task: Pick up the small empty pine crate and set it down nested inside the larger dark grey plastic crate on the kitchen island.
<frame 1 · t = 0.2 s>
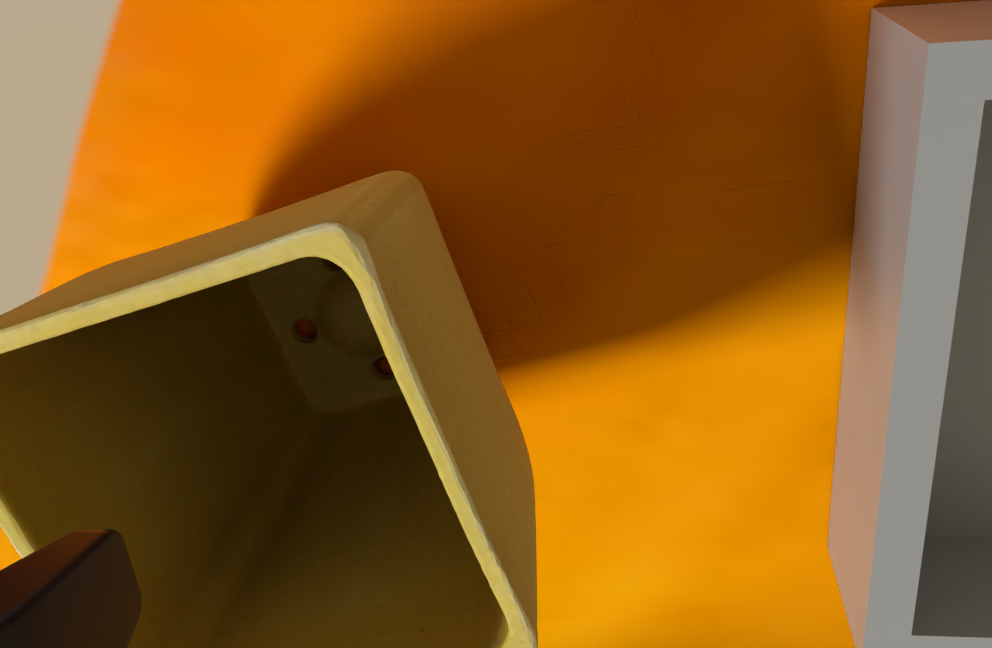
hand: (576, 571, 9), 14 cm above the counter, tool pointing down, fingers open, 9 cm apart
flower pot: (362, 301, 24), on the counter
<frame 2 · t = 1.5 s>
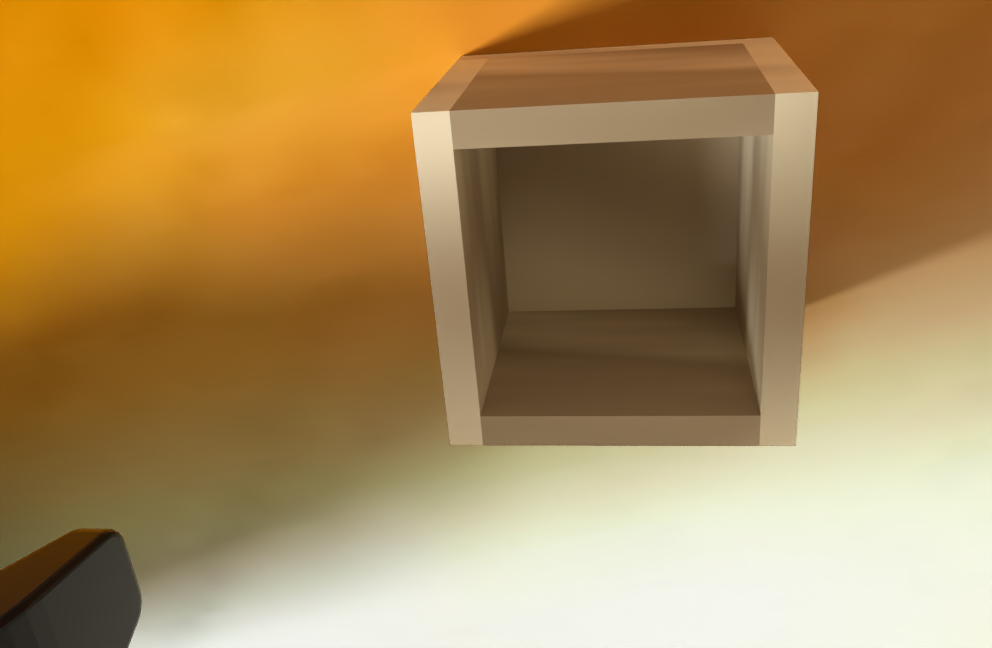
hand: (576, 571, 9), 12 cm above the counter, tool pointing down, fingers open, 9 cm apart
small crate: (617, 193, 20), on the counter
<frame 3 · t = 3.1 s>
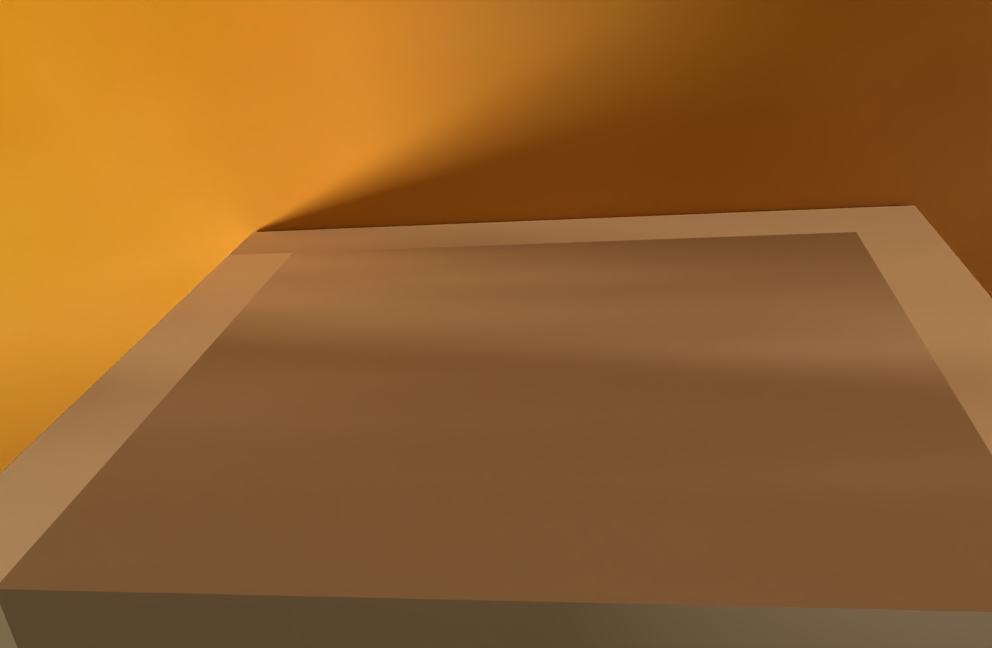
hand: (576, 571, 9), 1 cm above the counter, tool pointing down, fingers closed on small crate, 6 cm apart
small crate: (582, 492, 10), on the counter, touching gripper
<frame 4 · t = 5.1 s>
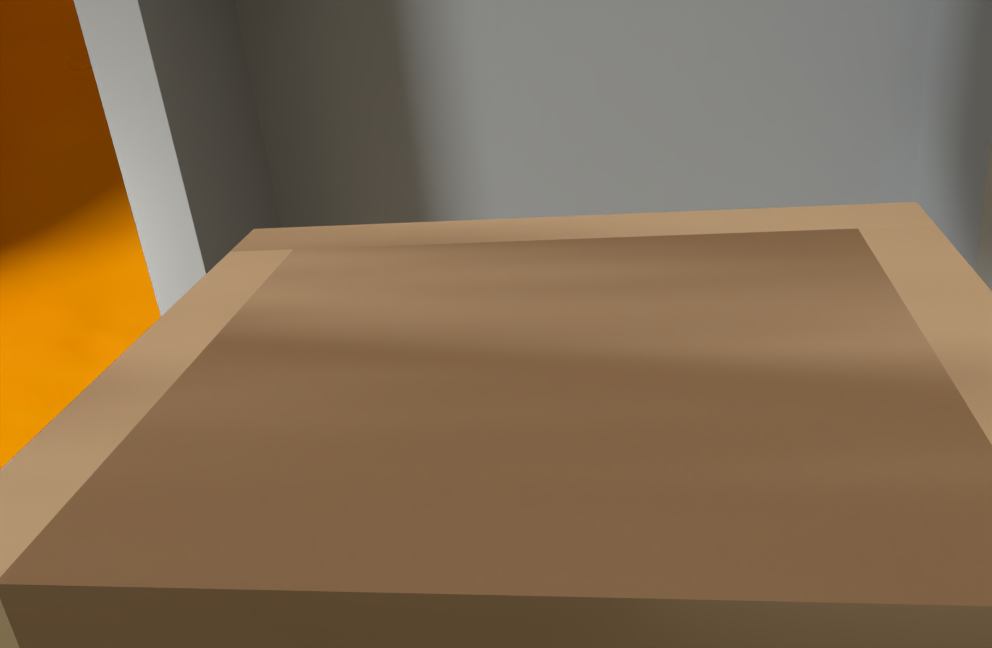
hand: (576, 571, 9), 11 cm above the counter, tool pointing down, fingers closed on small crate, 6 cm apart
big crate: (581, 179, 19), on the counter
small crate: (583, 489, 10), point 10 cm above the counter, touching gripper
when the fingers open (3 cm above the counter, at t = 7.0 s): small crate drops 1 cm, resting on big crate.
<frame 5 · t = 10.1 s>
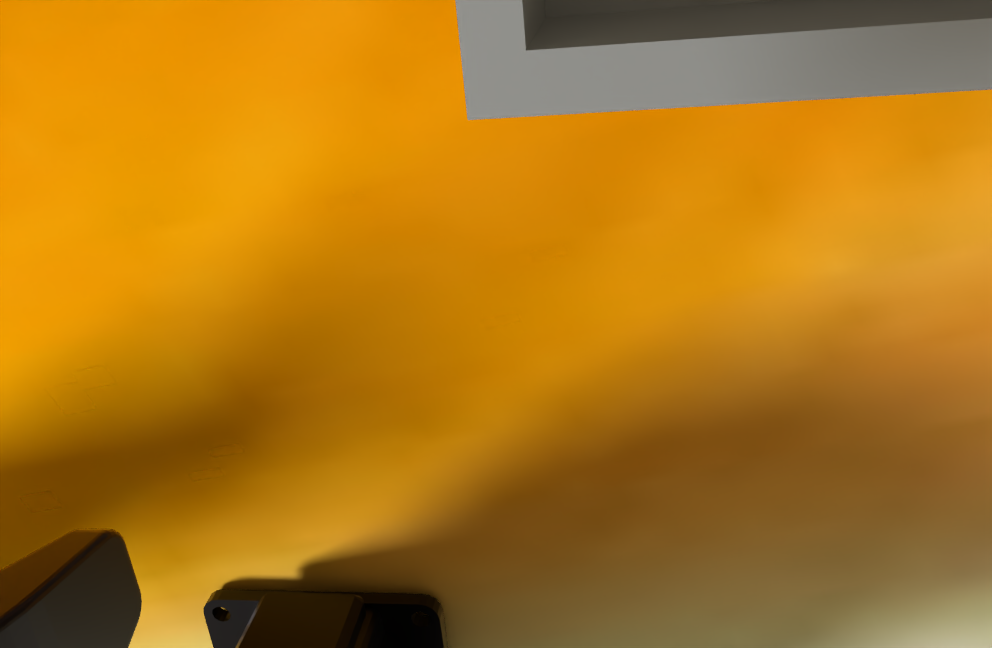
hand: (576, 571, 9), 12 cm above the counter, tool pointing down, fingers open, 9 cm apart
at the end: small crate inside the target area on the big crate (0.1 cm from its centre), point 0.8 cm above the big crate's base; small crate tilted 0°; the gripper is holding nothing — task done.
